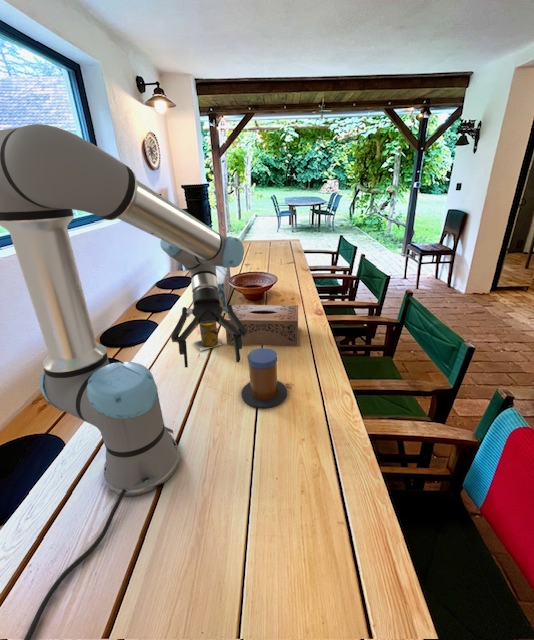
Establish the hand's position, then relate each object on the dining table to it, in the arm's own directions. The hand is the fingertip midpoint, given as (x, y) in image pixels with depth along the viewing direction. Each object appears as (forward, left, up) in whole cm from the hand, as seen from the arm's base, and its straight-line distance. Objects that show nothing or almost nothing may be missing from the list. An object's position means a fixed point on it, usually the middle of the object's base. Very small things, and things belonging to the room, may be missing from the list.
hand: (212, 363), depth 84 cm
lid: (+7, -11, 0) cm, 13 cm away
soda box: (+76, +40, -12) cm, 87 cm away
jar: (+7, -11, -12) cm, 18 cm away
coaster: (+7, -11, -12) cm, 18 cm away
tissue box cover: (+40, 0, -12) cm, 42 cm away
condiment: (+29, +19, -12) cm, 36 cm away
